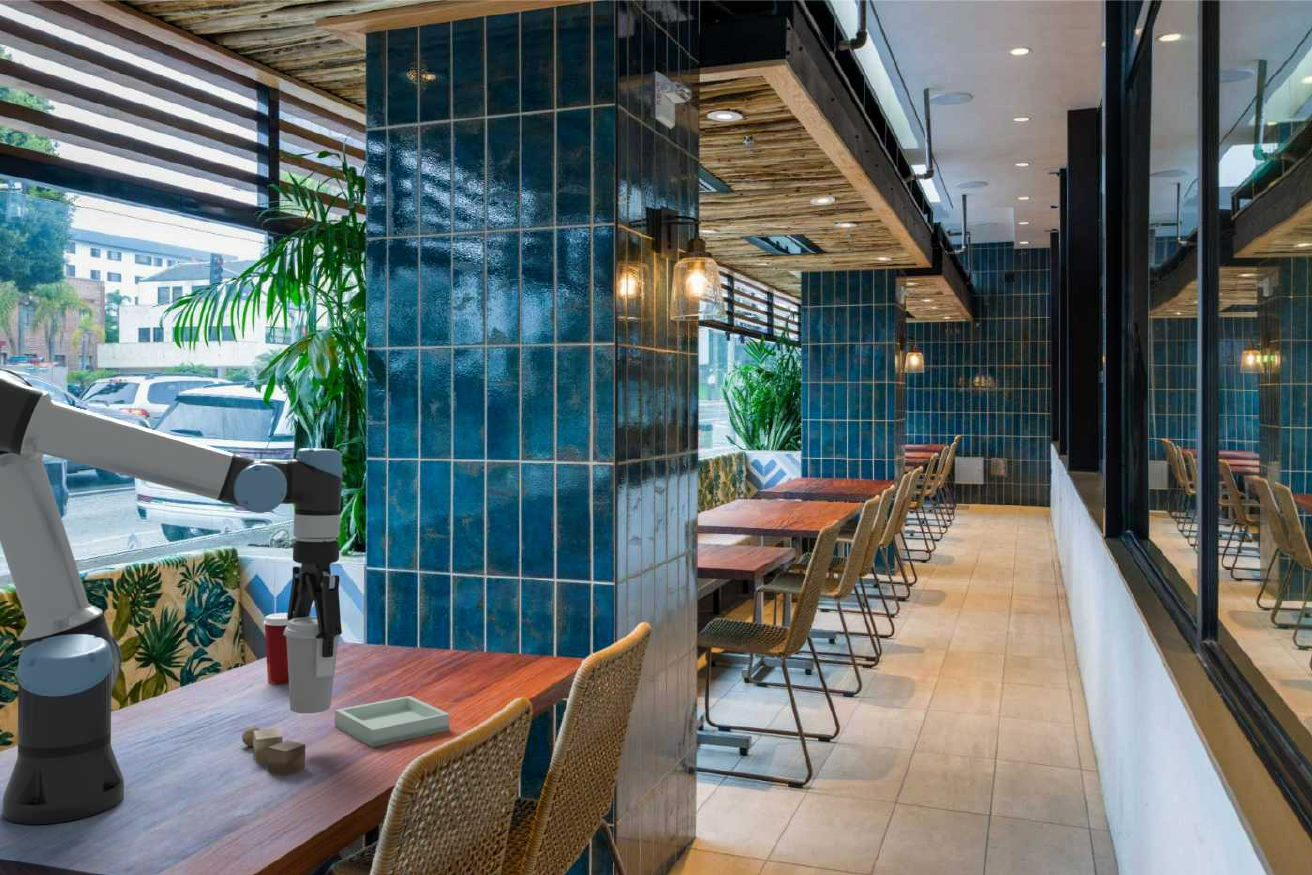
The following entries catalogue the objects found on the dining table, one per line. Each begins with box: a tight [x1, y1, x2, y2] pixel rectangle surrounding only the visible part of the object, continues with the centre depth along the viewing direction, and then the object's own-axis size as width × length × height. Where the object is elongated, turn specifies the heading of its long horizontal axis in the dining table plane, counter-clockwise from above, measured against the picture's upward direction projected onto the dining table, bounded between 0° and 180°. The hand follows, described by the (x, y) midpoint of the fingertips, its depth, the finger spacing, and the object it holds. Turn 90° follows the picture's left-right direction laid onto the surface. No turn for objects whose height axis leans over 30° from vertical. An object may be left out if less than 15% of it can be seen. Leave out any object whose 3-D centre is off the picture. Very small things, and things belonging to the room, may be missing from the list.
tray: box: [334, 695, 451, 748], centre depth 182 cm, size 15×15×3 cm
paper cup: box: [263, 612, 290, 685], centre depth 213 cm, size 8×8×14 cm
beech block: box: [252, 727, 283, 764], centre depth 166 cm, size 4×5×4 cm
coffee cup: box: [283, 615, 343, 714], centre depth 171 cm, size 10×10×15 cm
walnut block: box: [267, 739, 306, 777], centre depth 160 cm, size 4×4×4 cm
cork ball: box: [241, 726, 261, 747], centre depth 171 cm, size 3×3×3 cm
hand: (311, 669), depth 171 cm, fingers closed on coffee cup, 9 cm apart
